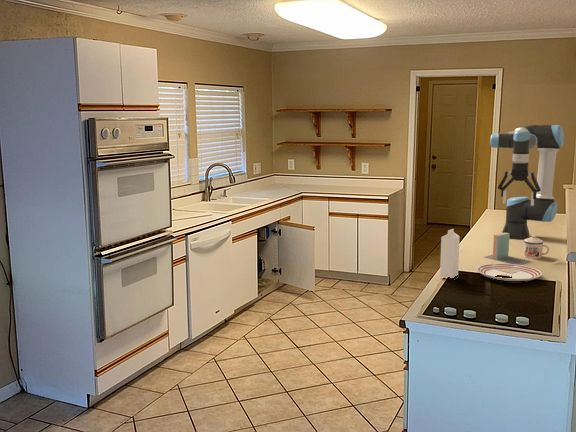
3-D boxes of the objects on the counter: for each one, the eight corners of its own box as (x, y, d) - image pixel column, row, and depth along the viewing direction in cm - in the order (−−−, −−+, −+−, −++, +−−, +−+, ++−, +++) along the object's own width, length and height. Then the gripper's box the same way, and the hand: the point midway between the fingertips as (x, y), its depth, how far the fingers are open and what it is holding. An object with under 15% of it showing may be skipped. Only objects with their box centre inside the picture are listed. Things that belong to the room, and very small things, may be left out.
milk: (458, 277, 263) (460, 229, 259) (452, 280, 258) (454, 231, 254) (445, 275, 267) (447, 227, 263) (439, 278, 262) (441, 229, 258)
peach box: (492, 258, 291) (493, 234, 289) (503, 255, 296) (505, 232, 294) (497, 259, 289) (498, 235, 287) (508, 256, 294) (509, 233, 292)
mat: (482, 258, 294) (482, 257, 294) (497, 255, 301) (497, 253, 301) (518, 267, 278) (518, 265, 278) (533, 263, 285) (533, 261, 285)
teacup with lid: (521, 259, 292) (522, 236, 290) (524, 255, 300) (525, 232, 298) (547, 262, 286) (548, 238, 284) (549, 257, 294) (551, 235, 292)
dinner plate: (471, 268, 278) (471, 261, 277) (531, 269, 275) (531, 262, 274) (483, 285, 251) (483, 278, 251) (550, 287, 248) (550, 279, 248)
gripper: (492, 161, 296) (490, 203, 300) (545, 164, 282) (542, 207, 286) (497, 160, 302) (495, 201, 306) (548, 162, 288) (546, 205, 292)
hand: (518, 204), depth 296 cm, fingers open, 13 cm apart
